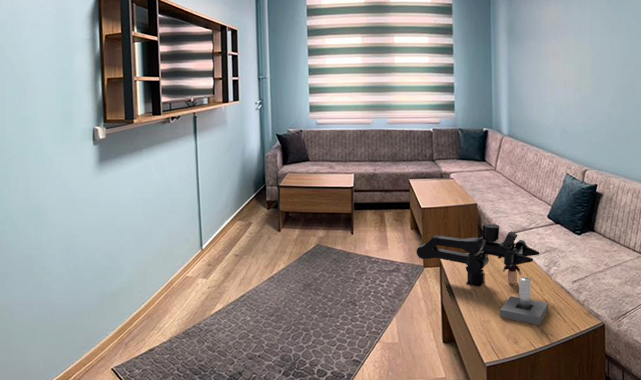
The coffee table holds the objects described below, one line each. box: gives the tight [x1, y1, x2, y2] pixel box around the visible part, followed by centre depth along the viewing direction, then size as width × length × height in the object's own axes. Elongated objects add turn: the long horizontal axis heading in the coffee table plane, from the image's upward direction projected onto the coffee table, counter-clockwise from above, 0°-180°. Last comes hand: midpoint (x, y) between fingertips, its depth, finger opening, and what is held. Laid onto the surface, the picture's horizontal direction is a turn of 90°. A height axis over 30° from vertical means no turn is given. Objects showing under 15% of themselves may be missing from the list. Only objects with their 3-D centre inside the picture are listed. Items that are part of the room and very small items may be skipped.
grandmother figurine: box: [502, 262, 522, 286], centre depth 224 cm, size 8×4×13 cm, turn 71°
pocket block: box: [499, 295, 549, 326], centre depth 197 cm, size 14×14×3 cm
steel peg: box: [518, 276, 532, 311], centre depth 196 cm, size 4×4×14 cm
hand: (536, 256), depth 210 cm, fingers open, 9 cm apart
